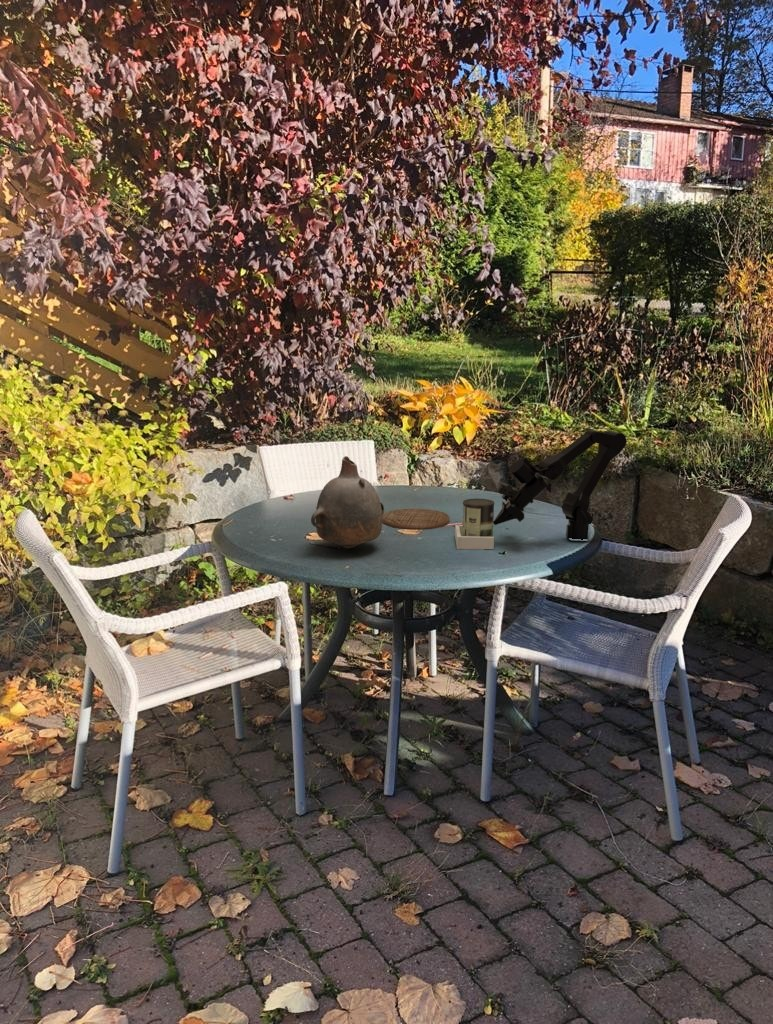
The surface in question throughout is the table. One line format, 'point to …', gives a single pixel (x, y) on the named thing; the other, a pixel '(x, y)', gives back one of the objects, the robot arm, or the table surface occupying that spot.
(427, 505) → the table surface
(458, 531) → the frame
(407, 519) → the trivet
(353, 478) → the jug
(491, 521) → the coffee can
